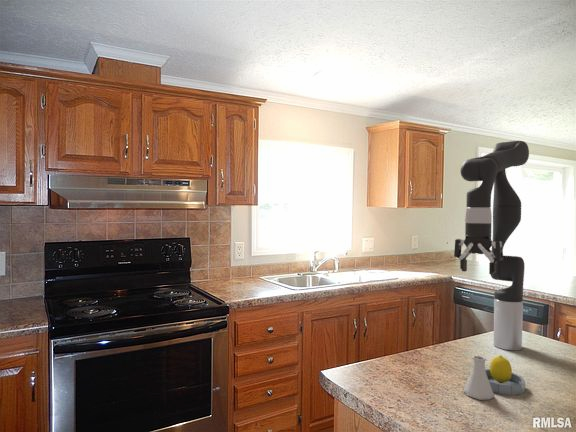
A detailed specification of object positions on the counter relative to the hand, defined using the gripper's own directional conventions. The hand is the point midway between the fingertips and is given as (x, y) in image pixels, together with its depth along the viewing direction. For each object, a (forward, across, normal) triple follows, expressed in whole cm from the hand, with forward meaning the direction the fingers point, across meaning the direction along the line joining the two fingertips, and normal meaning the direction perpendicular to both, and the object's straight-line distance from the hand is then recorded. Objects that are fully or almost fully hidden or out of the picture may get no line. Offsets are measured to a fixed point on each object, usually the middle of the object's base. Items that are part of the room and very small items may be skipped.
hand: (477, 272), depth 130 cm
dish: (+30, -11, +10) cm, 33 cm away
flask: (+30, -9, +21) cm, 37 cm away
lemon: (+29, -11, +10) cm, 33 cm away
